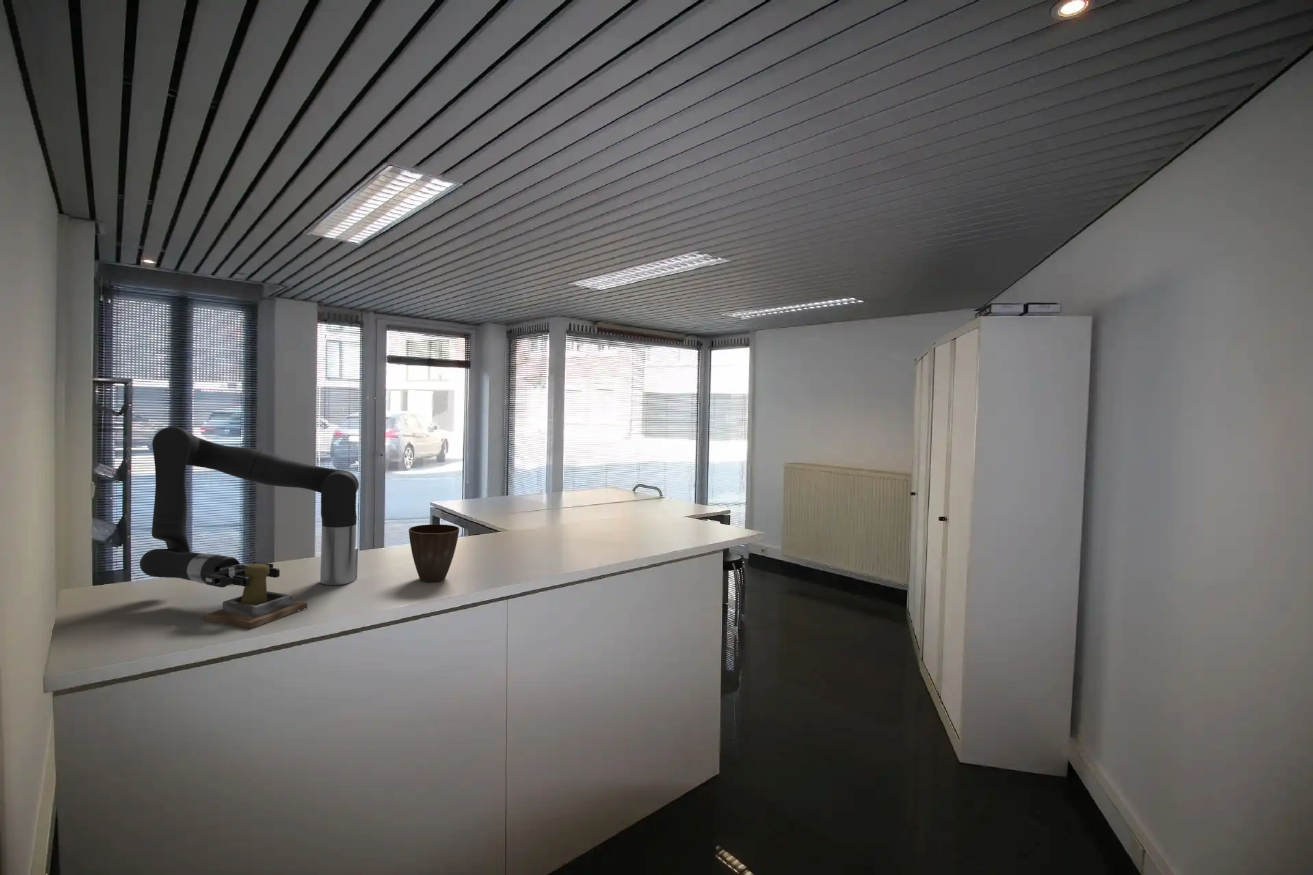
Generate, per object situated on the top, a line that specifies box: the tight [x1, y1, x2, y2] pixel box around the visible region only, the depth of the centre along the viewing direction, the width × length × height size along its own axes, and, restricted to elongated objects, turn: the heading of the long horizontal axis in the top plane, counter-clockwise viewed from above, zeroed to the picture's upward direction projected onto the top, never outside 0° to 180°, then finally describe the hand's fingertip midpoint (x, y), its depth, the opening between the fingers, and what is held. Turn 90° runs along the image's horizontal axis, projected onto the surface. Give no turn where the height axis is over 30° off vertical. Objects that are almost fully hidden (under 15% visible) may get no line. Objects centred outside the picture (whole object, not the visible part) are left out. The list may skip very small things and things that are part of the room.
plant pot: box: [408, 523, 460, 583], centre depth 189 cm, size 15×15×16 cm
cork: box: [240, 563, 270, 605], centre depth 151 cm, size 6×6×11 cm
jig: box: [205, 590, 308, 630], centre depth 151 cm, size 16×14×4 cm
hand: (263, 577), depth 151 cm, fingers open, 8 cm apart
